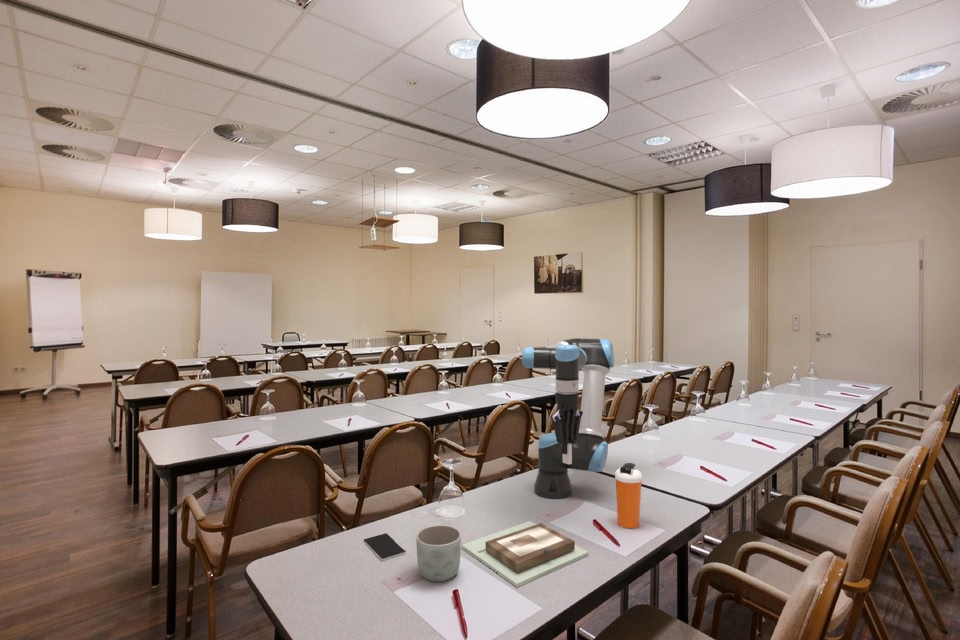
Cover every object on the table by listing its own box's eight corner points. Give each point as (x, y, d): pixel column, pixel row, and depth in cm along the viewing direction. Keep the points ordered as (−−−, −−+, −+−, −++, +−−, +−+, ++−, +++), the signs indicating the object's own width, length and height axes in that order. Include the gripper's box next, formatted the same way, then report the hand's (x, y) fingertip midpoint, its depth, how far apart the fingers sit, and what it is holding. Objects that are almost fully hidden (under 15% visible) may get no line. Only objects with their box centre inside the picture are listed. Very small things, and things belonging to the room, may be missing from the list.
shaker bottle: (643, 521, 166) (643, 463, 166) (640, 532, 158) (640, 471, 158) (616, 516, 170) (617, 460, 170) (612, 526, 162) (612, 468, 162)
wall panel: (461, 548, 148) (461, 544, 148) (529, 523, 164) (529, 520, 164) (516, 587, 127) (516, 583, 127) (588, 555, 143) (588, 551, 143)
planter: (443, 591, 125) (443, 550, 125) (407, 577, 132) (406, 538, 132) (469, 569, 136) (469, 531, 135) (434, 557, 142) (434, 521, 142)
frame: (485, 550, 144) (485, 539, 144) (540, 530, 156) (540, 521, 156) (519, 574, 131) (519, 562, 130) (576, 550, 143) (576, 540, 143)
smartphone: (386, 532, 157) (406, 550, 145) (386, 536, 157) (407, 555, 145) (362, 539, 152) (381, 559, 140) (362, 543, 152) (381, 563, 140)
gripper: (561, 396, 151) (561, 470, 152) (589, 391, 159) (589, 462, 160) (544, 392, 158) (544, 463, 158) (572, 388, 165) (572, 456, 166)
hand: (567, 462), depth 159 cm, fingers closed
